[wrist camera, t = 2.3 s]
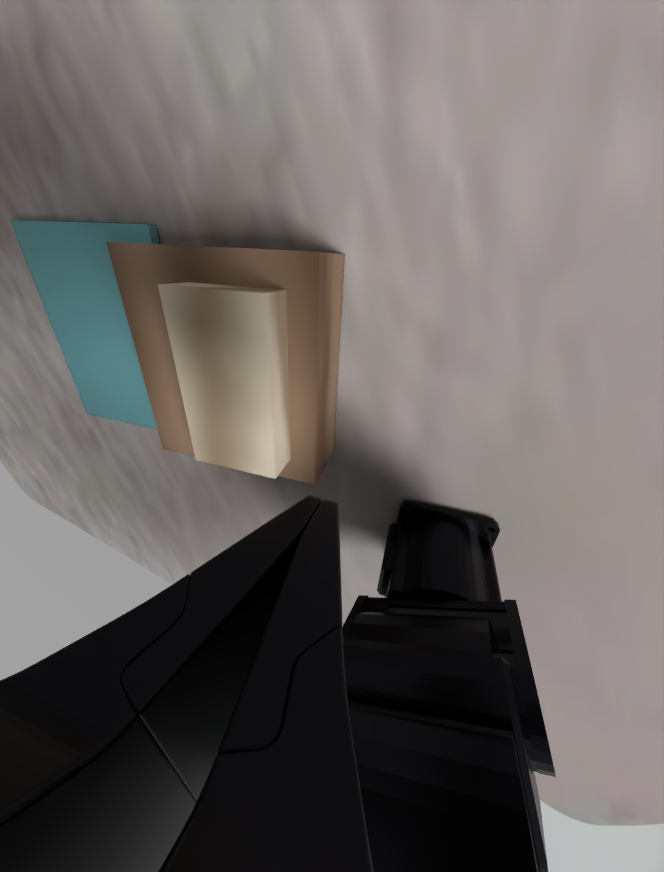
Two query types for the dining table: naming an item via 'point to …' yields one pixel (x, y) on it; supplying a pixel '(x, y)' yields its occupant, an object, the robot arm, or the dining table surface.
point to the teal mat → (90, 311)
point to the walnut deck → (306, 332)
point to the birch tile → (232, 372)
